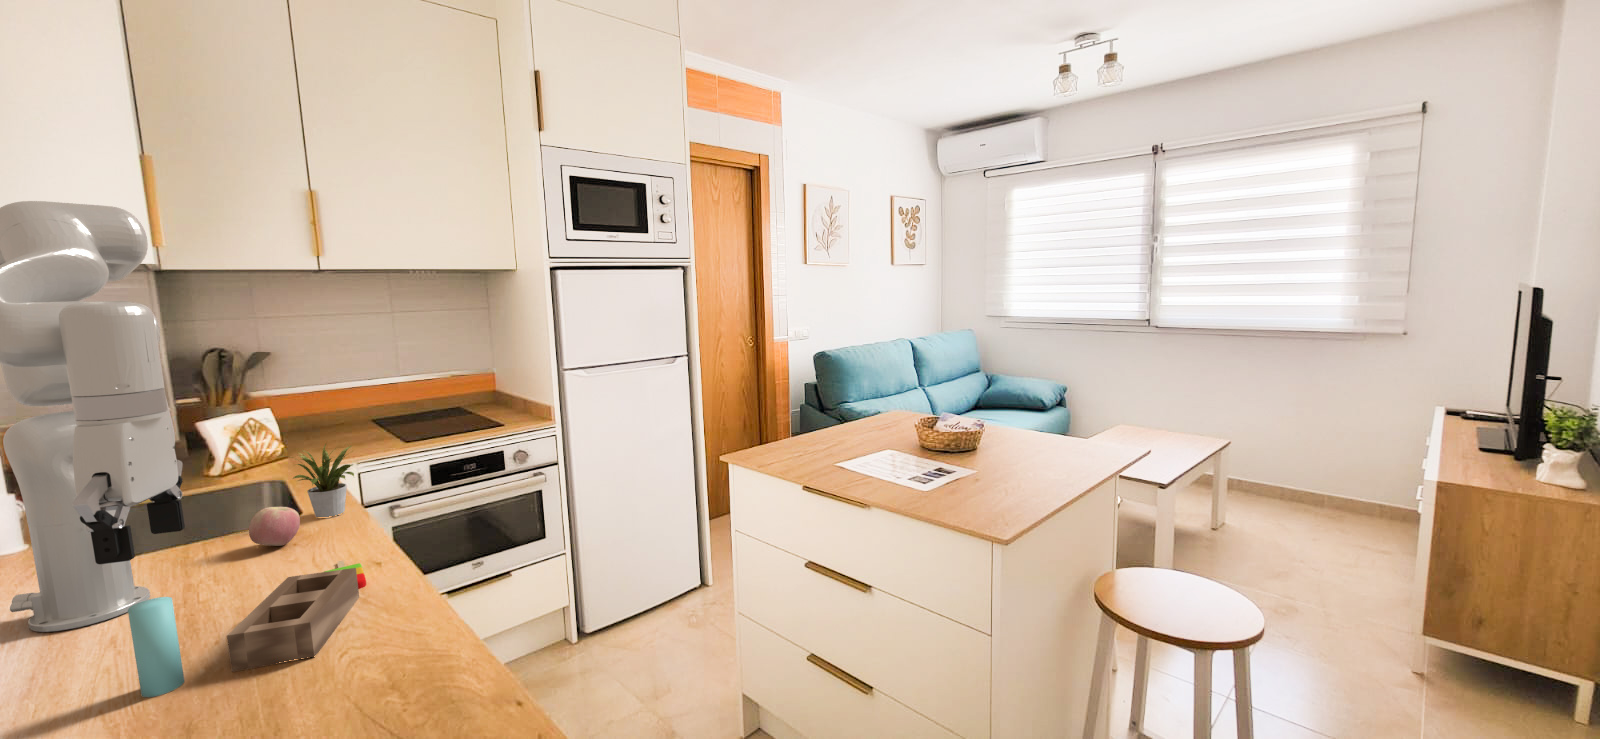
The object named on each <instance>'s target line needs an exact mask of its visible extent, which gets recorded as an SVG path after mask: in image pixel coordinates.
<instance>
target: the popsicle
mask: <svg viewBox="0 0 1600 739" xmlns="http://www.w3.org/2000/svg"><path fill="white" fill-rule="evenodd" d="M336 564H337V568H333V569H329V570H324V571H323V572H328V571H336V570H343V569H350V568H356V573H357V582H358V590H361V589H363V588H364V587H366V586H367V580H366V575H365V572H364V569H363V565H362V564H361V563H360V562H359V563H354V564H350V565H345V560H338V561H337V562H336Z"/></svg>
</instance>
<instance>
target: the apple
mask: <svg viewBox="0 0 1600 739" xmlns="http://www.w3.org/2000/svg"><path fill="white" fill-rule="evenodd" d="M249 522H250V523H249V527H248V537H249V538H250V540H251V541H252V543H254V544H257V545H262V546H269V547H281V546H284V545H288V543H289V542H291V541H292V540H293V539H294V537H295V536H296V535H297V533H298V531H299V529H300V525H301V517H300V514H299V512H298V511H297V510H295V509H294V508H293V507H288V506H268V507H264V508H262V509H260V510H259V511H257V512H256V513H255V514H254V516H253V517H251V520H250V521H249Z"/></svg>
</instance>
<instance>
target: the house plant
mask: <svg viewBox="0 0 1600 739" xmlns="http://www.w3.org/2000/svg"><path fill="white" fill-rule="evenodd" d="M326 446H327V443H325V444H324V446H323V448H322V456H321V466H318V464H317V463H316V461H315V459H314V457H313V456H312V455H311V453H310V452H308V451H305V450H303V452H305V453H307V455H308V456H309V457H310V458H311V459H310V458H308V457H307V456H306V455H305V454H303V453H300V452H298V456H299V457H300V459H297V458H295V457H292V456H285V455H280V456H279V455H278V456H276V457H283V458H285V457H286V458H287V457H288V458H292V459H294V460H296V461H298V462H300V463H297V464H294V466H295V465H298V466H300V467H302V468H303V469H304V470H305V471H306V472H307V473H308V474H309V475H310V476H311V477H312V478H311V477H309V476H308V475H305V474H298V475H295V476H293V478H292V480H293V479H298V478H299V479H298V480H297V482H299V481H303V480H305V481H310V482H311V485H312V486H311V488H309V489H308V490H307V494H308V498H309V500H310V503H311V507H312V509H313V512H314V515H315V517H329V516H335V515H338V514H341V513H343V512H344V511H345V512H346V500H347V499H346V498H347V488H348V485H347V484H346V483H342V482H340V480H341V478H342V479H344V480H347V479H346V475H345V474H347V475H351V476H353V478H356V477H355V473H354V472H353V471H347V470H349V469H350V468H351V467H353V466H354V464H353V463H352V464H348V463H347V464H344V465H341V466H340V464H341V462H342V460H344V459H345V457H346V456H347V455H349V454H350V453H352V452H354V450H352V451H350V452H349V453H347V451H348V450H349V449H350V448H352V445H350V446H348V447H345V448H344V449H342V451H341V452H340V453H339V454H338V455H337V457H335V456H334V457H331V458H330V455H331V454H332V453H333V452H334V451H335V450H336V449H337V448H338V446H337V447H335V448H334V449H333V450H332V451H331V452H330V453H328V451H327V450H326ZM346 453H347V454H346ZM332 459H335V460H334V461H333V460H332ZM300 460H302V461H304V462H305V463H306V464H308V465H309V466H310V467H311V469H312V470H313V471H314V472H313V471H312V470H311V469H310V468H309V467H308V466H306V465H305V464H304V463H303V462H302V461H300ZM331 462H333V463H332V467H331V469H330V464H331ZM313 485H314V487H313ZM345 512H344V513H345ZM344 513H343V514H344Z"/></svg>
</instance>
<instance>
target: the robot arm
mask: <svg viewBox="0 0 1600 739" xmlns="http://www.w3.org/2000/svg"><path fill="white" fill-rule="evenodd" d="M148 245H149V244H148V237H147V234H146V230H145V228H144V226H143V224H141V221H139V219H138V218H137V217H136V216H135V215H133V213H131V212H129V211H128V210H126V209H124V208H121V207H117V206H111V205H109V206H108V205H99V204H87V203H86V204H85V203H84V204H83V203H73V202H72V203H69V202H59V201H57V202H56V201H45V200H44V201H42V200H23V201H16V202H15V201H14V202H10V203H7V204H5V205H3V206H0V366H1V372H2V374H3V378H4V381H5V385H6V388H7V390H8V393H9V395H10V396H11V397H12V399H13V400H14V401H15V402H17V403H19V404H21V405H23V406H29V407H53V406H64V405H72V408H73V409H72V410H70V411H63V412H61V411H60V412H52V413H47V414H40V415H36V416H31V417H27V418H25V419H22V420H19V421H18V422H16V423H14V424H12V425H11V426H10V427H9V428H8V429H7V430H6V431H5V433H4V435H3V441H2V442H3V443H2V444H3V450H4V453H5V455H6V458H7V460H8V463H9V465H10V467H11V469H12V472H13V475H14V476H15V478H16V482H17V485H18V487H19V490H20V494H21V497H22V501H23V502H22V503H23V507H24V512H25V516H26V524H27V525H28V526H27V527H28V531H29V536H30V542H31V549H32V555H33V560H34V565H35V572H36V578H37V583H38V587H39V592H28V593H21V594H16V595H14V596H13V598H12V599H11V604H10V605H9V611H10V612H11V613H16V612H24V611H26V610H30V611H32V613H33V615H32V616H31V617H30V618H29V619H28V622H27V623H28V628H29V629H30V630H31V631H34V632H41V633H45V632H46V633H50V632H59V631H60V632H61V631H65V630H72V629H77V628H81V627H85V626H89V625H94V624H96V623H100V622H104V621H106V620H110V619H113V618H115V617H119V616H120V615H123V614H124V615H125V614H126V613H128V609H129V608H130V607H131V606H133V605H135V604H137V603H140V602H143V601H146V600H149V599H150V597H151V593H150V589H149V588H148V587H145V586H140V585H139V586H138V585H135V582H134V576H133V569H132V560H133V559H134V558H135V557H136V555H135V548H134V541H133V536H132V528H131V525H130V524H129V525H125V524H126V522H127V518H128V516H129V513H130V510H131V507H135V506H137V505H139V504H142V503H144V502H146V501H150V502H149V503H147V504H146V508H147V509H146V510H147V514H148V521H149V522H148V523H149V528H150V533H151V534H153V535H158V534H166V533H175V532H176V533H177V532H181V531H183V530H185V527H186V526H185V519H184V512H183V506H182V505H183V504H182V500H181V499H182V497H183V491H182V490H181V486H182V484H183V480H184V479H183V477H182V473H183V472H182V471H183V467H184V466H183V465H184V463H183V461H182V460H179V459H177V454H176V449H175V445H176V433H175V428H174V422H173V419H172V415H171V411H170V406H169V404H168V400H167V395H166V388H165V382H164V376H163V375H164V374H163V368H162V360H161V355H160V348H159V344H160V341H161V340H160V339H161V334H160V333H161V329H160V326H159V321H158V319H157V317H156V315H155V314H154V312H153V311H152V309H151V308H150V307H149V306H147V305H145V304H143V303H140V302H134V301H121V300H120V301H116V300H115V301H114V300H112V301H111V300H110V301H108V300H107V301H84V300H86V299H88V298H91V297H92V296H95V295H96V294H98V293H99V292H101V290H102V289H104V287H105V286H106V285H107V282H116V281H121V280H124V279H126V278H127V277H128V276H129V275H130V274H131V273H132V272H133V271H134V270H135V269H137V267H139V266H140V265H141V264H142V262H144V260H145V258H146V256H147V253H148V247H149V246H148Z"/></svg>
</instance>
